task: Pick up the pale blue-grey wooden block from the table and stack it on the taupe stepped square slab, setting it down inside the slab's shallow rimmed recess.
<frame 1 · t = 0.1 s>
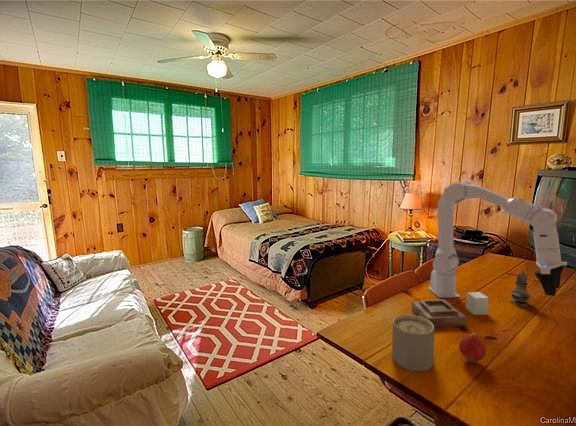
hand: (552, 291, 91), 11 cm above the table, tool pointing down, fingers open, 7 cm apart
block: (476, 311, 102), on the table
grey can: (415, 357, 79), on the table
taupe stepped square slab: (437, 317, 99), on the table
salt shaker: (519, 303, 107), on the table
onion: (471, 362, 76), on the table
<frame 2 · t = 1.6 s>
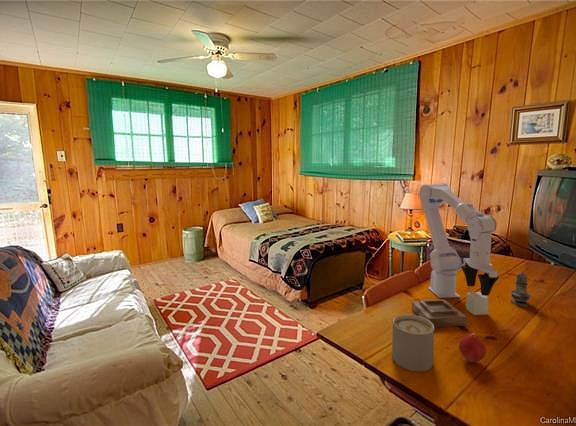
hand: (477, 290, 101), 8 cm above the table, tool pointing down, fingers open, 7 cm apart
nothing on the table moved.
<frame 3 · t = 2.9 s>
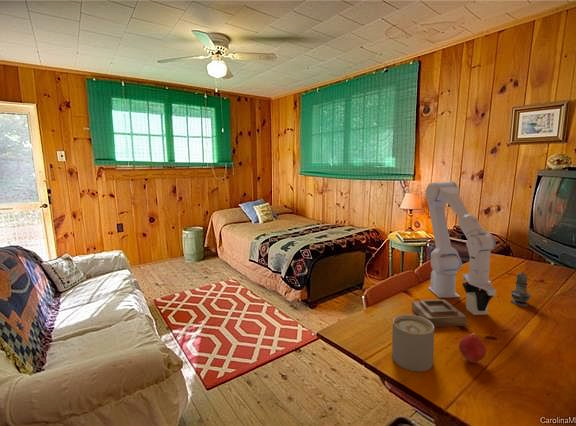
hand: (476, 306, 102), 2 cm above the table, tool pointing down, fingers closed on block, 4 cm apart
block: (476, 311, 102), on the table, touching gripper
everything else where it was.
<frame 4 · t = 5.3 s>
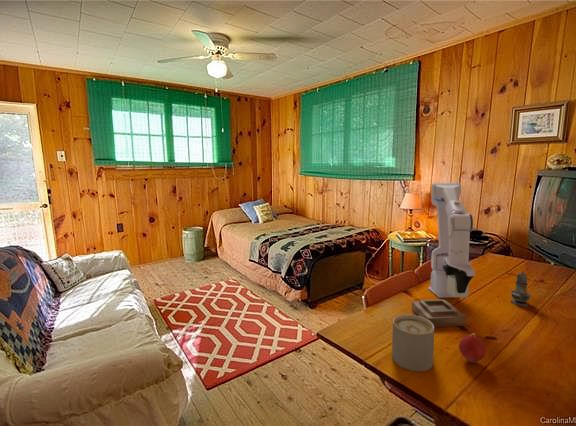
hand: (456, 289, 99), 9 cm above the table, tool pointing down, fingers closed on block, 4 cm apart
block: (457, 294, 99), point 7 cm above the table, touching gripper
everything else where it was.
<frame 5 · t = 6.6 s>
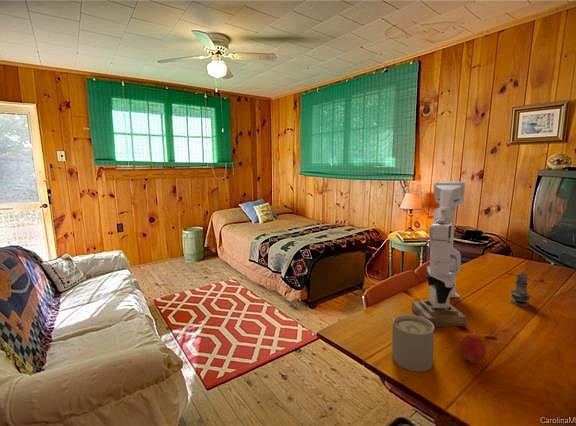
hand: (438, 299, 98), 6 cm above the table, tool pointing down, fingers closed on block, 4 cm apart
block: (438, 304, 98), point 4 cm above the table, touching gripper
everything else where it was.
when the fingers open (6 cm above the table, at t = 7.7 s): block drops 1 cm, resting on taupe stepped square slab.
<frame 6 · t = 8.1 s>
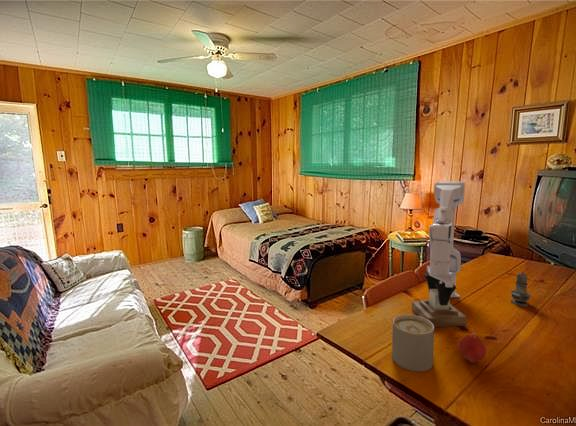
hand: (438, 299, 98), 6 cm above the table, tool pointing down, fingers open, 7 cm apart
block: (438, 308, 98), point 3 cm above the table, touching taupe stepped square slab
everything else where it was.
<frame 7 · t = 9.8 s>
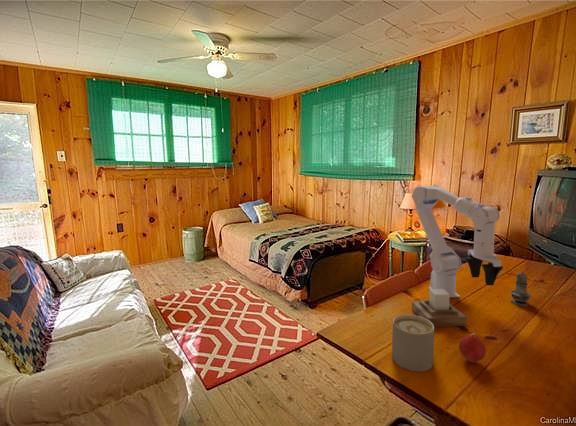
hand: (482, 280, 102), 10 cm above the table, tool pointing down, fingers open, 7 cm apart
nothing on the table moved.
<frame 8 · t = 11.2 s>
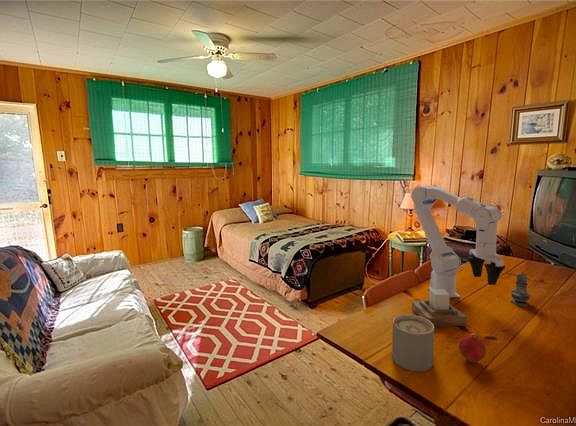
hand: (484, 280, 102), 10 cm above the table, tool pointing down, fingers open, 7 cm apart
nothing on the table moved.
at the end: block 0.3 cm off-centre on the taupe stepped square slab, point 3.0 cm above the taupe stepped square slab's base; block touching taupe stepped square slab; the gripper is holding nothing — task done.
